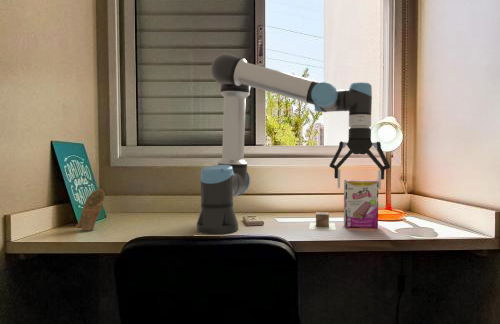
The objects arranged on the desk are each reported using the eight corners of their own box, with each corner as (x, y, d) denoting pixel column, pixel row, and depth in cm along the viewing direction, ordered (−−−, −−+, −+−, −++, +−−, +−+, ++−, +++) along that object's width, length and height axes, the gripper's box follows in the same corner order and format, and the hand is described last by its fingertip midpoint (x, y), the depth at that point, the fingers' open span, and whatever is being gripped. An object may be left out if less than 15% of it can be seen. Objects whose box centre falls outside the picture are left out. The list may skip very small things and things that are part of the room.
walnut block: (315, 226, 129) (315, 214, 129) (316, 224, 134) (316, 212, 134) (328, 227, 128) (328, 214, 128) (328, 224, 133) (328, 212, 133)
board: (306, 233, 125) (306, 229, 125) (307, 225, 139) (307, 221, 139) (379, 236, 121) (379, 231, 121) (373, 227, 134) (373, 223, 134)
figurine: (74, 231, 134) (74, 190, 133) (93, 227, 141) (92, 188, 140) (90, 233, 130) (89, 191, 129) (109, 229, 137) (108, 189, 137)
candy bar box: (345, 228, 127) (345, 180, 126) (343, 225, 132) (343, 179, 131) (379, 228, 125) (378, 180, 125) (375, 225, 130) (375, 179, 130)
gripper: (323, 127, 127) (322, 188, 127) (399, 127, 122) (398, 190, 122) (323, 128, 134) (322, 186, 135) (395, 128, 129) (394, 188, 130)
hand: (358, 188), depth 128 cm, fingers open, 13 cm apart
